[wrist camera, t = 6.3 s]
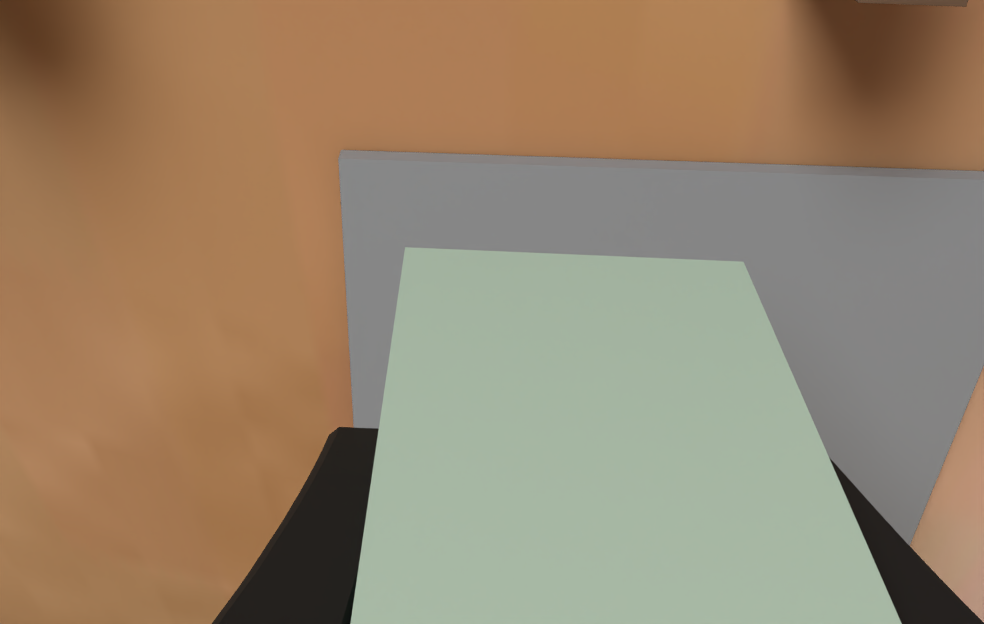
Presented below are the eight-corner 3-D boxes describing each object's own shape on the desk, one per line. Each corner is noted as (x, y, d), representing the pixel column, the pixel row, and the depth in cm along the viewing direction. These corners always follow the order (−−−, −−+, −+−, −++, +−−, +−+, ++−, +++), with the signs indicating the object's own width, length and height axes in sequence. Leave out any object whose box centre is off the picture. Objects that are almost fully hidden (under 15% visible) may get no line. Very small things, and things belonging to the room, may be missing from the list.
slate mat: (1048, 172, 19) (1059, 182, 18) (866, 627, 27) (870, 639, 26) (340, 150, 18) (338, 158, 18) (366, 617, 26) (365, 629, 26)
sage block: (742, 262, 11) (1019, 894, 5) (687, 503, 13) (838, 1135, 8) (404, 247, 11) (313, 878, 5) (405, 493, 13) (341, 1129, 7)
